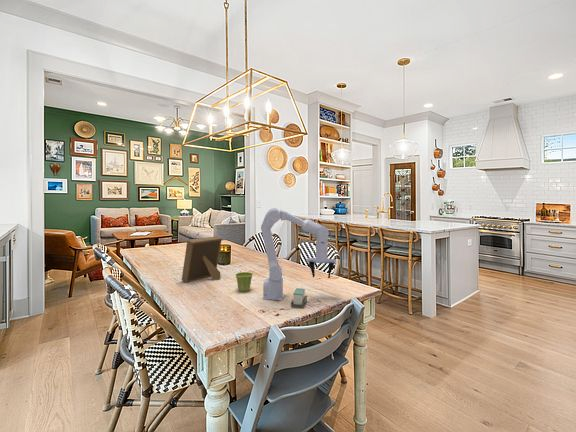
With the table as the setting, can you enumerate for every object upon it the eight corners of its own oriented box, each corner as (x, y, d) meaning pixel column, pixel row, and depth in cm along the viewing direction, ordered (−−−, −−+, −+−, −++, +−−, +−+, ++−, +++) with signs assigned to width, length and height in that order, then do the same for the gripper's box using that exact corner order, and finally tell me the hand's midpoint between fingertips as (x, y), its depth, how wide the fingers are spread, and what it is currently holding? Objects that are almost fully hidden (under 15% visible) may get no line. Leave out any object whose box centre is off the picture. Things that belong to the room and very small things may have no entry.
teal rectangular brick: (293, 304, 136) (293, 293, 135) (296, 298, 144) (296, 288, 143) (301, 304, 135) (302, 294, 135) (304, 298, 143) (304, 288, 142)
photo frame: (181, 281, 174) (181, 239, 173) (211, 273, 192) (211, 235, 190) (197, 286, 166) (197, 241, 164) (227, 278, 183) (227, 237, 182)
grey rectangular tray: (291, 307, 135) (291, 302, 135) (295, 299, 146) (295, 294, 146) (303, 308, 134) (303, 303, 134) (306, 300, 144) (306, 295, 144)
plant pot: (256, 290, 159) (256, 274, 159) (242, 294, 152) (242, 277, 152) (245, 286, 166) (245, 271, 165) (231, 290, 159) (231, 274, 158)
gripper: (306, 251, 146) (305, 278, 147) (336, 252, 143) (335, 280, 144) (308, 248, 153) (307, 274, 153) (336, 249, 149) (336, 276, 150)
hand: (321, 277), depth 149 cm, fingers open, 7 cm apart
